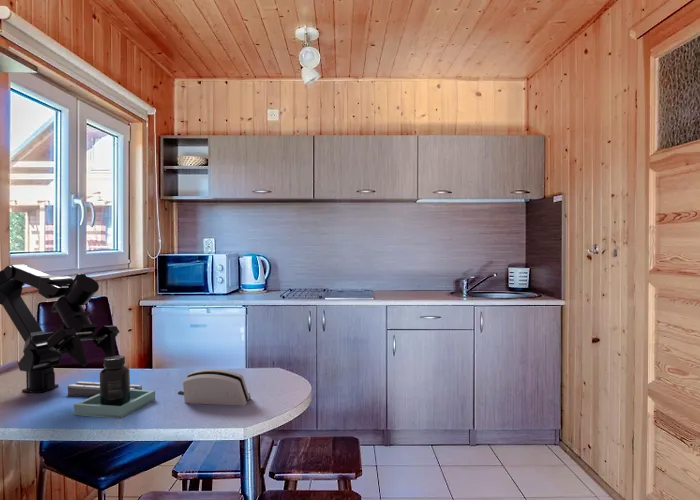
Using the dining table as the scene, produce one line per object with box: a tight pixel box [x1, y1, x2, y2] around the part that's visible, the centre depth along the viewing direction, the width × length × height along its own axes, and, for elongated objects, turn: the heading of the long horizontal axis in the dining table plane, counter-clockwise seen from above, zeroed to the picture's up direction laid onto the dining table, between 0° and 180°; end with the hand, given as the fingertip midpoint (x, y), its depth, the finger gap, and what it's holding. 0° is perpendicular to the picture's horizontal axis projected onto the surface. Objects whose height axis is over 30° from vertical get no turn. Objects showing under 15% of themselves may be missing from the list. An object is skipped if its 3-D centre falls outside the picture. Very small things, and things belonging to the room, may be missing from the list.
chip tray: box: [73, 389, 156, 419], centre depth 117 cm, size 13×13×2 cm
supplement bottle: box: [99, 355, 131, 406], centre depth 117 cm, size 7×7×12 cm
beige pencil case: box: [182, 368, 252, 406], centre depth 120 cm, size 17×5×10 cm, turn 81°
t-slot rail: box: [67, 381, 143, 398], centre depth 127 cm, size 20×4×3 cm, turn 78°
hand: (99, 362), depth 122 cm, fingers open, 9 cm apart
